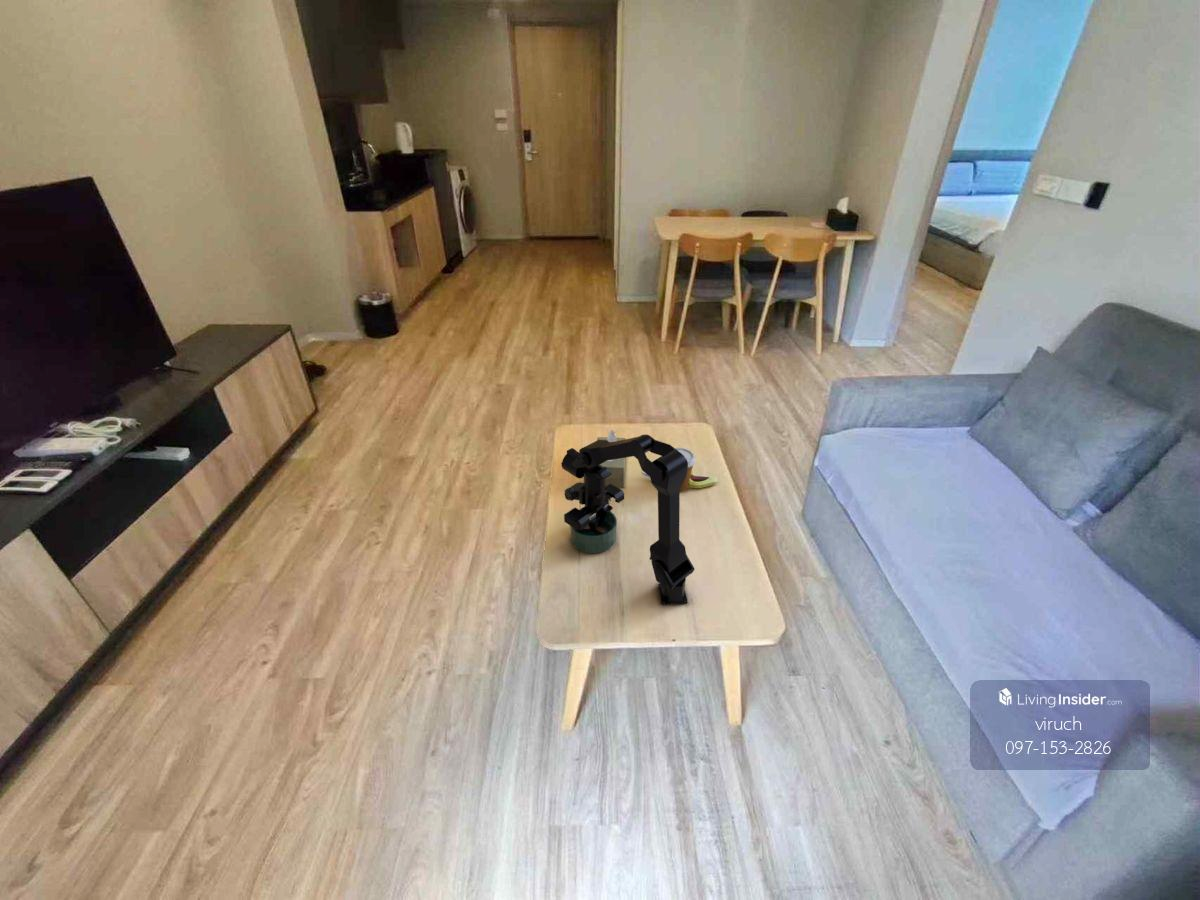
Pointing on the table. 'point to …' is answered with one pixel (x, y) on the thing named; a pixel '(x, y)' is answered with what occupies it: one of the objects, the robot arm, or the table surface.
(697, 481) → the yellow curved piece
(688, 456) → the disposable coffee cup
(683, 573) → the robot arm
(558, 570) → the table surface
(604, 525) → the bucket
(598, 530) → the spoon
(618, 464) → the tissue box
